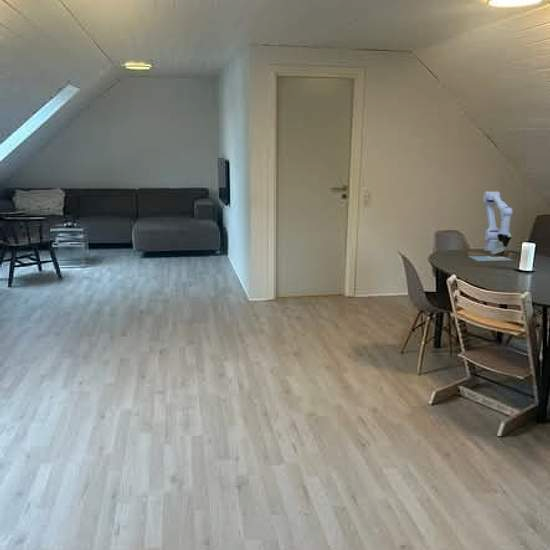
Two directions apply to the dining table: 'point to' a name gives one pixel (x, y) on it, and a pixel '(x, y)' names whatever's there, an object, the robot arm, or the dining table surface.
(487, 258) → the mat
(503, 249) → the bracket
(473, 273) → the dining table surface
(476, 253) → the walls
